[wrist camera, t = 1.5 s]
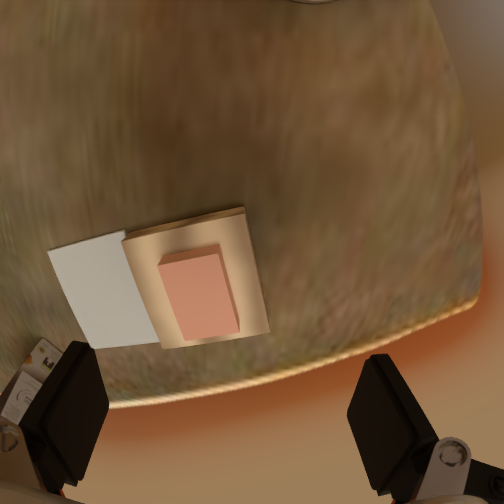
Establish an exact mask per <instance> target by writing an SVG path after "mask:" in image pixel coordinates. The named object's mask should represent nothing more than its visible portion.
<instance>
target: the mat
mask: <svg viewBox="0 0 504 504" xmlns="http://www.w3.org/2000/svg"><path fill="white" fill-rule="evenodd" d="M126 236H127V233H126V229H124V230H120V231H116V232H112V233H109V234H105V235H101V236H97V237H94V238H90V239H87V240H83V241H79V242H76V243H72V244H69V245H65V246H62V247H58V248H55V249H52V250H49V251H48V255H49V257H50V260H51V262H52V265H53V267H54V270H55V272H56V275H57V277H58V279H59V282H60V284H61V286H62V289H63V291H64V293H65V295H66V298H67V300H68V302H69V304H70V306H71V308H72V310H73V313H74V315H75V317H76V319H77V321H78V323H79V325H80V327H81V329H82V331H83V332H84V334H85V336H86V338H87V340H88V342H89V344H90V346H91V347H92V348H93V349H98V348H108V347H118V346H128V345H136V344H145V343H153V342H160V341H159V339H158V337H157V334H156V332H155V330H154V327H153V325H152V323H151V320H150V318H149V316H148V313H147V311H146V308H145V306H144V303H143V301H142V298H141V296H140V293H139V291H138V288H137V286H136V283H135V280H134V278H133V275H132V272H131V270H130V267H129V264H128V261H127V258H126V256H125V253H124V250H123V247H122V244H121V241H122V240H123V239H124V238H125V237H126Z"/></svg>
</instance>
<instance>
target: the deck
mask: <svg viewBox="0 0 504 504" xmlns="http://www.w3.org/2000/svg"><path fill="white" fill-rule="evenodd" d="M121 244H122V247H123V250H124V253H125V256H126V258H127V261H128V264H129V267H130V270H131V272H132V275H133V278H134V280H135V283H136V286H137V288H138V291H139V293H140V296H141V298H142V301H143V303H144V306H145V308H146V311H147V313H148V316H149V318H150V320H151V323H152V325H153V327H154V330H155V332H156V334H157V337H158V339H159V341H160V343H161V346H162V348H163V349H169V348H177V347H184V346H191V345H198V344H205V343H212V342H218V341H224V340H230V339H236V338H242V337H248V336H253V335H259V334H264V333H269V332H270V326H269V319H268V314H267V310H266V305H265V300H264V296H263V291H262V286H261V282H260V277H259V273H258V268H257V263H256V259H255V254H254V249H253V245H252V240H251V236H250V231H249V226H248V222H247V217H246V213H245V208H244V206H243V207H238V208H233V209H229V210H224V211H219V212H215V213H210V214H206V215H201V216H197V217H192V218H188V219H184V220H179V221H175V222H171V223H167V224H162V225H158V226H154V227H150V228H146V229H142V230H138V231H134V232H130V233H129V234H128V235H127V236H126V237H125V238H124V239H123V240H122V241H121ZM218 244H220V247H221V251H222V255H223V259H224V263H225V267H226V271H227V274H228V278H229V282H230V286H231V290H232V293H233V297H234V301H235V304H236V308H237V312H238V316H239V319H240V332H239V333H233V334H227V335H221V336H215V337H209V338H202V339H195V340H189V341H185V340H184V338H183V335H182V333H181V330H180V328H179V325H178V322H177V320H176V317H175V315H174V312H173V309H172V307H171V304H170V301H169V298H168V296H167V293H166V290H165V287H164V285H163V282H162V279H161V276H160V273H159V270H158V267H157V265H158V263H159V262H160V260H161V258H162V256H166V255H170V254H175V253H180V252H185V251H189V250H194V249H199V248H204V247H208V246H213V245H218Z"/></svg>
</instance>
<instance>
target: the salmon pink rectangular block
mask: <svg viewBox="0 0 504 504" xmlns="http://www.w3.org/2000/svg"><path fill="white" fill-rule="evenodd" d="M157 267H158V270H159V273H160V276H161V279H162V282H163V285H164V287H165V290H166V293H167V296H168V298H169V301H170V304H171V307H172V309H173V312H174V315H175V317H176V320H177V322H178V325H179V328H180V330H181V333H182V335H183V338H184V340H185V341H189V340H195V339H202V338H209V337H215V336H221V335H227V334H233V333H239V332H240V319H239V316H238V312H237V308H236V304H235V301H234V297H233V293H232V290H231V286H230V282H229V278H228V274H227V271H226V267H225V263H224V259H223V255H222V251H221V247H220V244H218V245H213V246H208V247H204V248H199V249H194V250H189V251H185V252H180V253H175V254H170V255H166V256H162V258H161V260H160V262H159V263H158V265H157Z"/></svg>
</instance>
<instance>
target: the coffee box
mask: <svg viewBox="0 0 504 504" xmlns="http://www.w3.org/2000/svg"><path fill="white" fill-rule="evenodd" d="M62 355H63V353H61V352H60V351H59V350H58V349H56V348H55V347H54V346H53V345H51V344H50V343H49V342H48V341H47V340H46V339H44V338H42V339H41V340H40V341H39V342H38V344H37V345H36V346H35V348H34V349H33V350H32V352H31V353H30V354H29V356H28V357H27V358H26V360H25V361H24V362H23V364H22V365H21V367H20V368H19V369H18V371H17V372H16V374H15V375H14V376H13V378H12V379H11V381H10V382H9V384H8V385H7V386H6V388H5V389H4V391H3V392H2V394H1V395H0V422H5V421H8V422H13V423H15V424H16V425H18V424H19V422H20V420H21V419H22V417H23V415H24V413H25V412H26V410H27V409H28V407H29V405H30V404H31V402H32V400H33V399H34V397H35V396H36V394H37V392H38V391H39V389H40V388H41V386H42V384H43V383H44V381H45V380H46V378H47V377H48V376H49V374H50V373H51V371H52V370H53V368H54V367H55V365H56V364H57V362H58V361H59V359H60V358H61V356H62Z"/></svg>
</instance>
